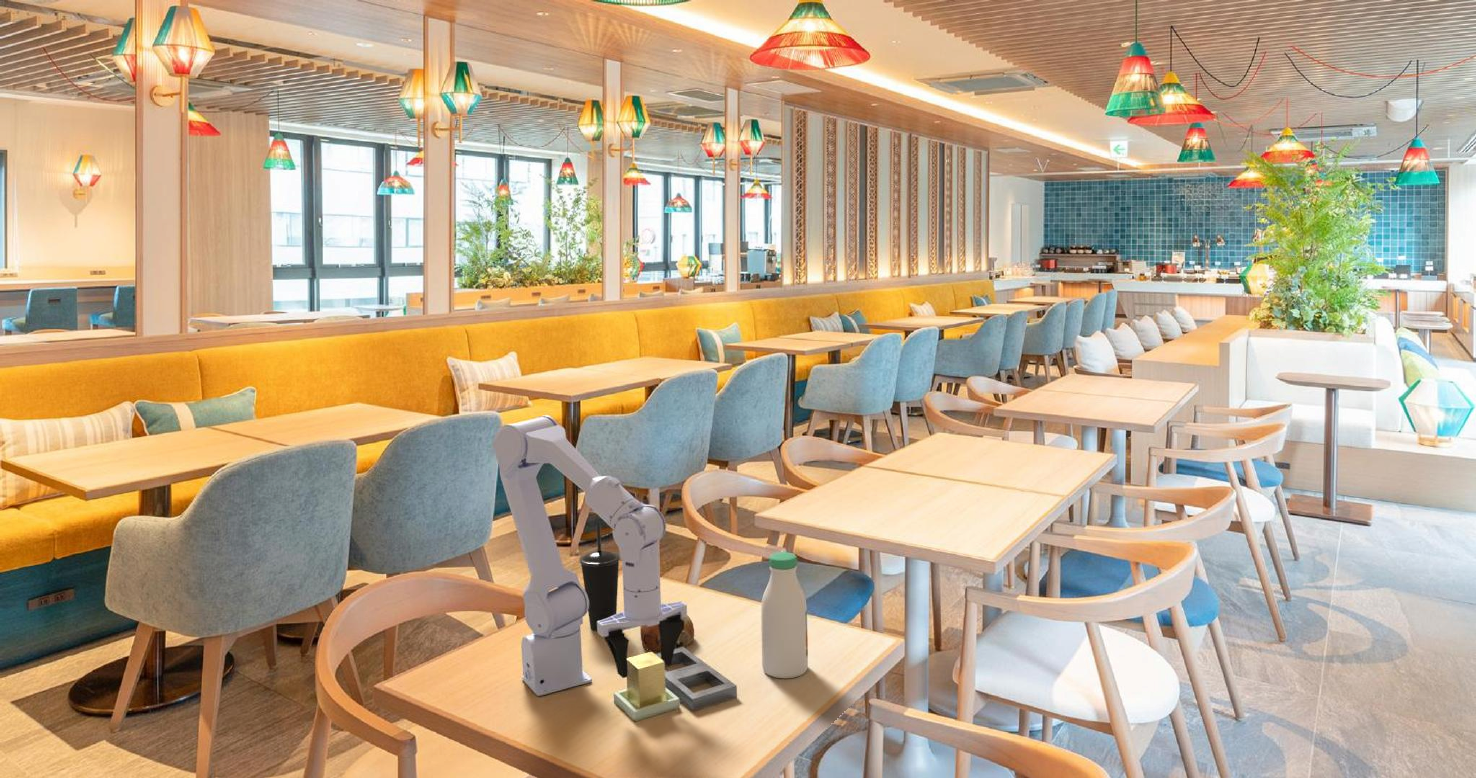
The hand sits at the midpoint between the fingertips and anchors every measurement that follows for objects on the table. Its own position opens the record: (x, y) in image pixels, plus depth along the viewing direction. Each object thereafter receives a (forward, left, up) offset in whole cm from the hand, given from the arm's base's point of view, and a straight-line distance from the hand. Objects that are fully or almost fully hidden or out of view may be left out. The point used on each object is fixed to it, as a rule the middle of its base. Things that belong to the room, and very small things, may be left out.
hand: (644, 668), depth 148 cm
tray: (0, 0, -6) cm, 6 cm away
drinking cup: (+7, +33, -6) cm, 34 cm away
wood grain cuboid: (0, 0, -6) cm, 6 cm away
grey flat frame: (+9, +3, -6) cm, 11 cm away
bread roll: (+14, +19, -6) cm, 25 cm away
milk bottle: (+25, -2, -6) cm, 26 cm away
